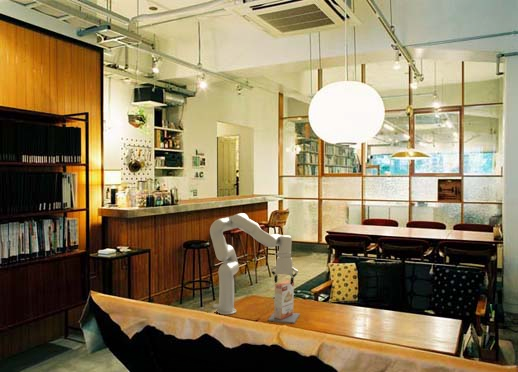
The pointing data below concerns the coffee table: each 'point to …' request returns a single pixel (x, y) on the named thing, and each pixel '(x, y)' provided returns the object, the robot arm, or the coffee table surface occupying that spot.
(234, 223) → the robot arm
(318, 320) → the coffee table surface
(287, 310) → the cracker box
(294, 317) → the slate mat
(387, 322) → the coffee table surface
